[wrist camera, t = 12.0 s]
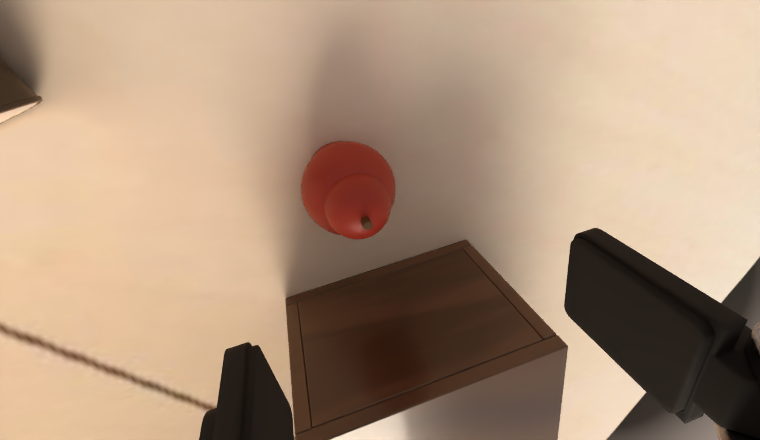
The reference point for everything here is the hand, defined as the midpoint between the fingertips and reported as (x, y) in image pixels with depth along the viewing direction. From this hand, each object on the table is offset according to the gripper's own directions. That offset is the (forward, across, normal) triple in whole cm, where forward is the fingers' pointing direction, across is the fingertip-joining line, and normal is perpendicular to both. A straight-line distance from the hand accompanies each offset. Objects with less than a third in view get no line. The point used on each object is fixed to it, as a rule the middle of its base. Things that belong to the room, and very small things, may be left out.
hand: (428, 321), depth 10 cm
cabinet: (+13, -1, +16) cm, 21 cm away
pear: (+13, 0, 0) cm, 13 cm away
